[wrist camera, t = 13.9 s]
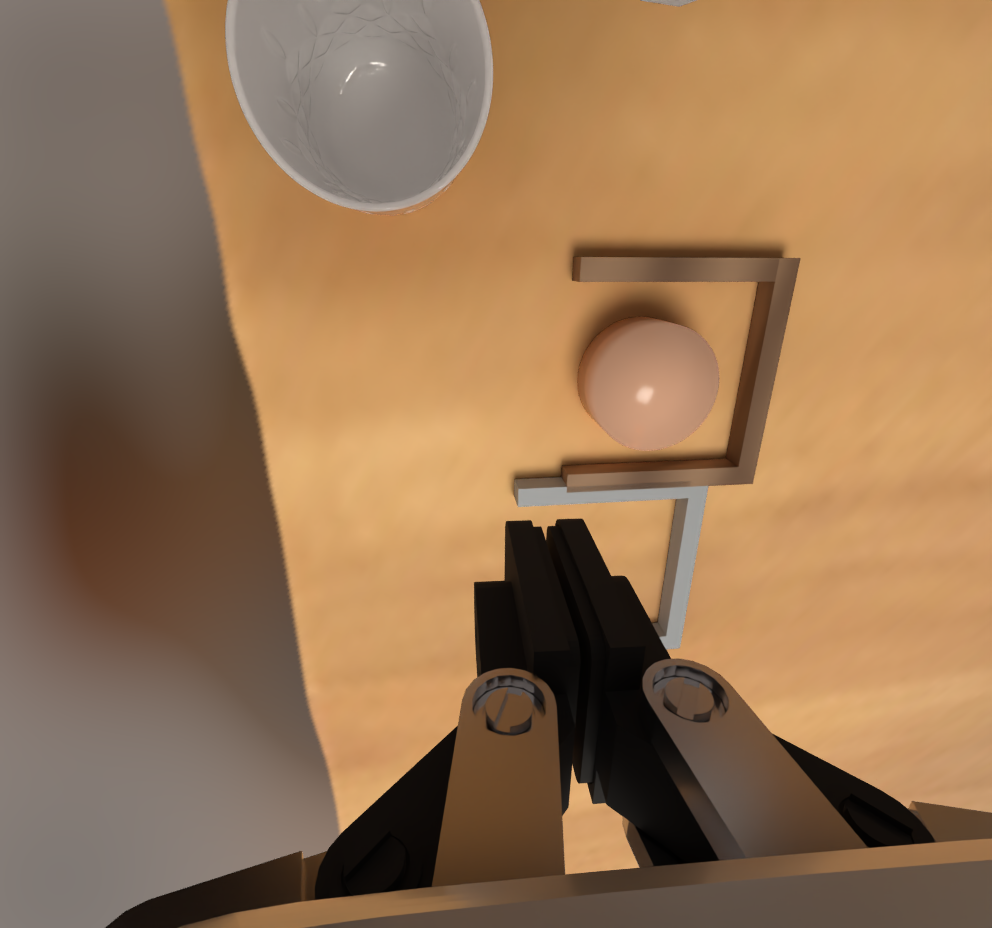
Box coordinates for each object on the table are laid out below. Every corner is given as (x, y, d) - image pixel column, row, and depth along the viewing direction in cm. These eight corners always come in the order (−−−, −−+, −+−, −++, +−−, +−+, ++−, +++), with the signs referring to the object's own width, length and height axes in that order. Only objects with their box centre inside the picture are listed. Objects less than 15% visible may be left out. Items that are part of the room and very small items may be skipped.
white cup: (501, 118, 25) (543, 37, 16) (414, 260, 27) (406, 261, 18) (357, -9, 22) (307, -193, 13) (272, 156, 24) (177, 96, 15)
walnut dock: (782, 258, 29) (800, 258, 28) (739, 474, 34) (752, 483, 33) (573, 257, 28) (581, 257, 26) (560, 482, 33) (566, 492, 31)
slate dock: (697, 470, 34) (709, 480, 32) (670, 634, 39) (679, 648, 37) (514, 479, 32) (518, 489, 31) (511, 647, 37) (514, 662, 36)
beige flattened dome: (695, 313, 30) (728, 320, 27) (682, 428, 32) (710, 446, 29) (578, 318, 29) (597, 326, 26) (574, 434, 32) (591, 454, 29)
